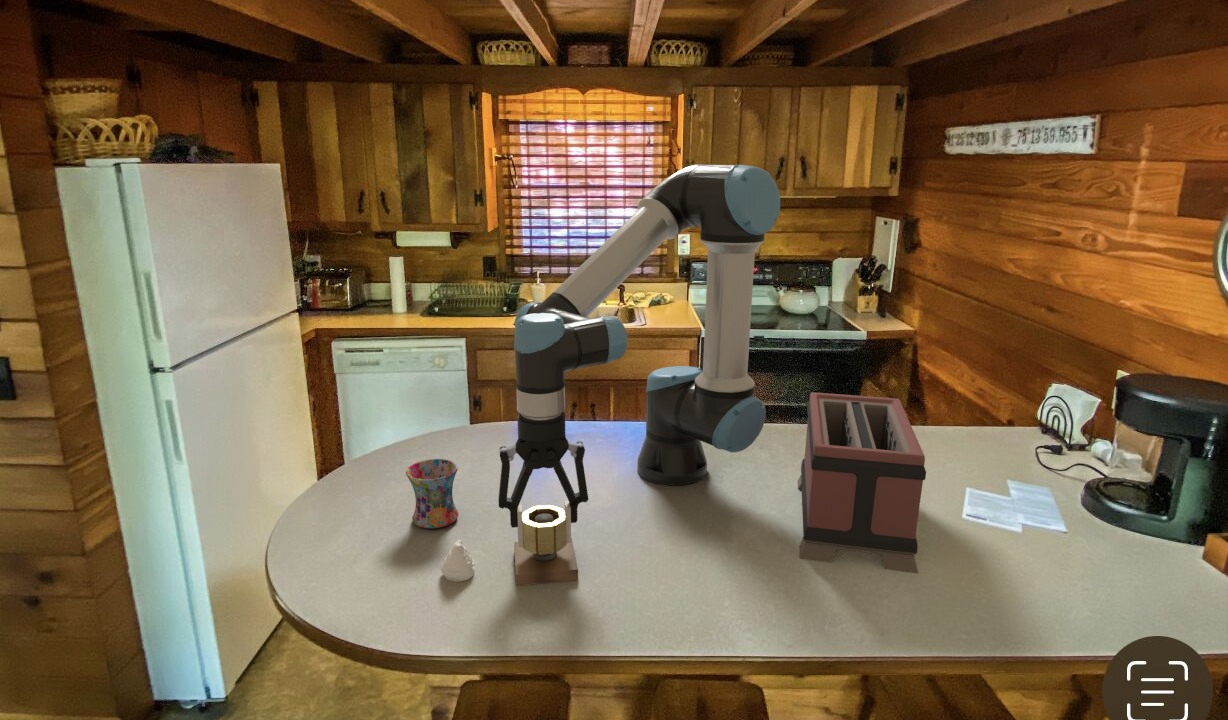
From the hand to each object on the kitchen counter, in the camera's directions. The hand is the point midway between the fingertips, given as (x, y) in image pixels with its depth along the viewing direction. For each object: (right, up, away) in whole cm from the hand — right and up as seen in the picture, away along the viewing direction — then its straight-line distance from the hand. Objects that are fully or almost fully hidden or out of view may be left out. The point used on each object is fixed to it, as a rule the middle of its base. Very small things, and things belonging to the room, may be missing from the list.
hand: (544, 540), depth 120 cm
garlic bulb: (-14, -5, -1) cm, 15 cm away
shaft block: (0, -5, +1) cm, 5 cm away
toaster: (+57, 0, +18) cm, 59 cm away
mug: (-22, 0, +17) cm, 28 cm away
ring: (0, 0, 0) cm, 0 cm away
